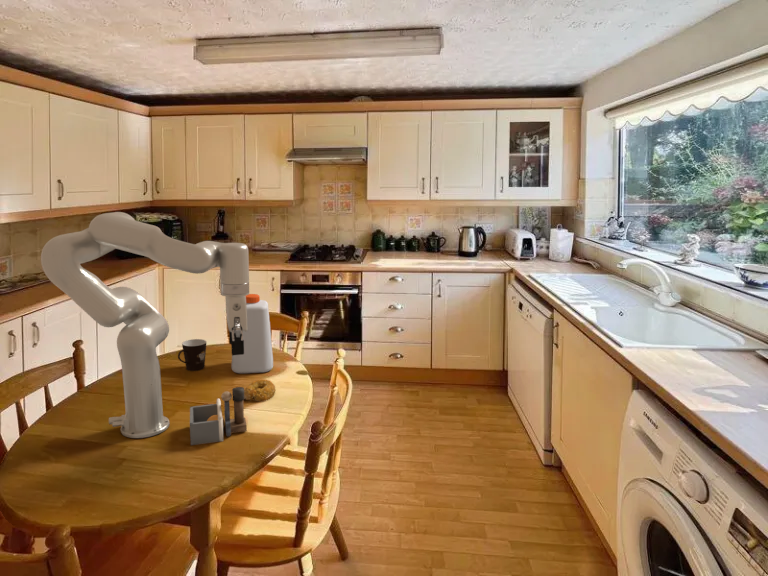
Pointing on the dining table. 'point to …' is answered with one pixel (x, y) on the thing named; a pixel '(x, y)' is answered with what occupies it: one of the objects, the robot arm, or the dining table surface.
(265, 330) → the plastic bottle
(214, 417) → the ball
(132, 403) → the robot arm
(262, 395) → the bagel
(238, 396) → the striker
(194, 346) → the coffee mug
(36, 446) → the dining table surface
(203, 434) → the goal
